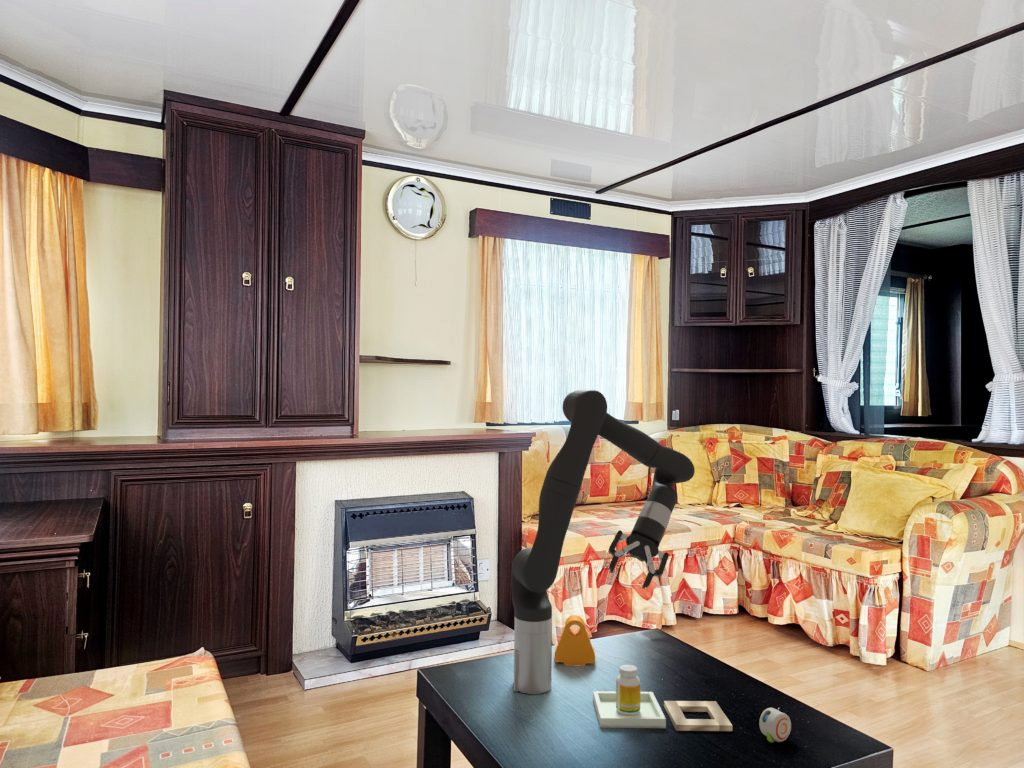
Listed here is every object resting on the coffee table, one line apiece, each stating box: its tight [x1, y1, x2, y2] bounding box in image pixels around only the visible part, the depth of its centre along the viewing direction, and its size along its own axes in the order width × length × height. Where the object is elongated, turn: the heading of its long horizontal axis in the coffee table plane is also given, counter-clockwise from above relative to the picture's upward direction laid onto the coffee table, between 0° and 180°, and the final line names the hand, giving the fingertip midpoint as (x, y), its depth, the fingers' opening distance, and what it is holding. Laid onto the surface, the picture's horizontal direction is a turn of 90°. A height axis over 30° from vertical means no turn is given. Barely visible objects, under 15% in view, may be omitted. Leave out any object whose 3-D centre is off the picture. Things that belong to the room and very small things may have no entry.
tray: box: [592, 690, 667, 729], centre depth 156 cm, size 14×14×2 cm
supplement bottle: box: [615, 664, 641, 715], centre depth 156 cm, size 5×5×10 cm
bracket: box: [554, 614, 596, 667], centre depth 188 cm, size 11×7×12 cm, turn 85°
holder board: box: [663, 700, 733, 732], centre depth 154 cm, size 12×12×1 cm
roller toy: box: [758, 707, 792, 743], centre depth 145 cm, size 4×6×6 cm
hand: (627, 579), depth 170 cm, fingers open, 8 cm apart
